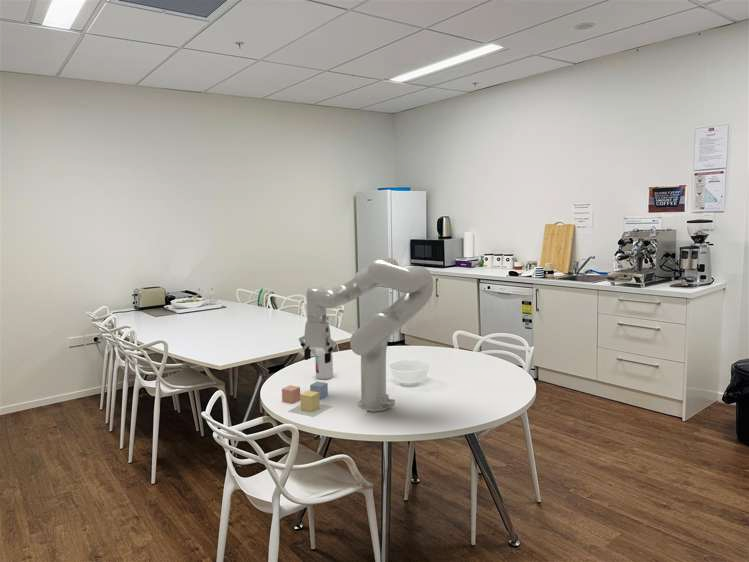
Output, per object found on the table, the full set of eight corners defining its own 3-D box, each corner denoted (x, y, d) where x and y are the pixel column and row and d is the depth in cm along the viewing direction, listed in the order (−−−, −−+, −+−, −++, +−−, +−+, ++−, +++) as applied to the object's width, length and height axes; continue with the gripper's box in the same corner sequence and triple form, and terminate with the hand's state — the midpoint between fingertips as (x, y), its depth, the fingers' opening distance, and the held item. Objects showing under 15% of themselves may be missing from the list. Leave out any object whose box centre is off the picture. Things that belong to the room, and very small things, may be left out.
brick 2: (328, 397, 219) (327, 383, 218) (320, 401, 215) (320, 386, 214) (317, 395, 222) (317, 381, 221) (310, 399, 217) (310, 384, 217)
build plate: (332, 408, 207) (332, 406, 207) (313, 419, 196) (313, 416, 196) (306, 403, 213) (306, 401, 213) (287, 413, 202) (287, 411, 202)
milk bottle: (335, 375, 248) (334, 332, 246) (329, 380, 241) (328, 336, 239) (319, 374, 251) (318, 331, 248) (313, 379, 243) (312, 335, 241)
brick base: (319, 407, 205) (319, 392, 205) (311, 412, 201) (311, 396, 200) (308, 405, 208) (308, 390, 207) (300, 409, 204) (300, 394, 203)
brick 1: (300, 401, 215) (299, 387, 214) (292, 405, 211) (292, 390, 210) (290, 399, 217) (289, 385, 217) (282, 403, 213) (281, 388, 212)
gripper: (340, 319, 213) (341, 361, 215) (304, 315, 222) (305, 355, 224) (329, 322, 207) (330, 366, 209) (293, 318, 215) (294, 360, 217)
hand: (317, 360), depth 216 cm, fingers open, 9 cm apart
